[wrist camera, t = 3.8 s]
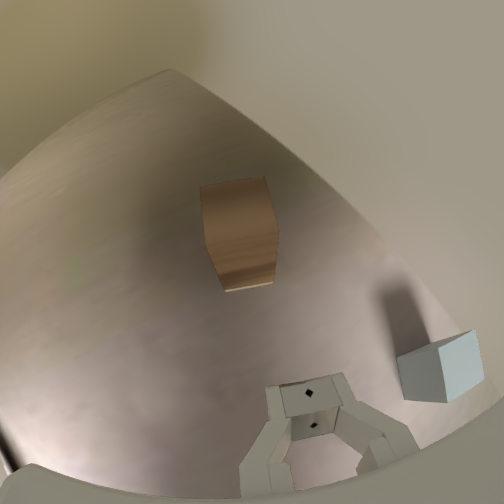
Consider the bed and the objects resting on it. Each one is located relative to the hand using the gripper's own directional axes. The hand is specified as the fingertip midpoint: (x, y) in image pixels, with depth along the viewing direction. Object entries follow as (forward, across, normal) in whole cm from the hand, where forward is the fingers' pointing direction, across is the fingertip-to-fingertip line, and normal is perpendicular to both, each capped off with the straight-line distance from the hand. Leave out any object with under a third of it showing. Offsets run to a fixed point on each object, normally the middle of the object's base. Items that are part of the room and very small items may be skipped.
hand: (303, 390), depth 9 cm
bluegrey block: (+9, -16, +14) cm, 23 cm away
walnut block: (+20, +1, +3) cm, 20 cm away
